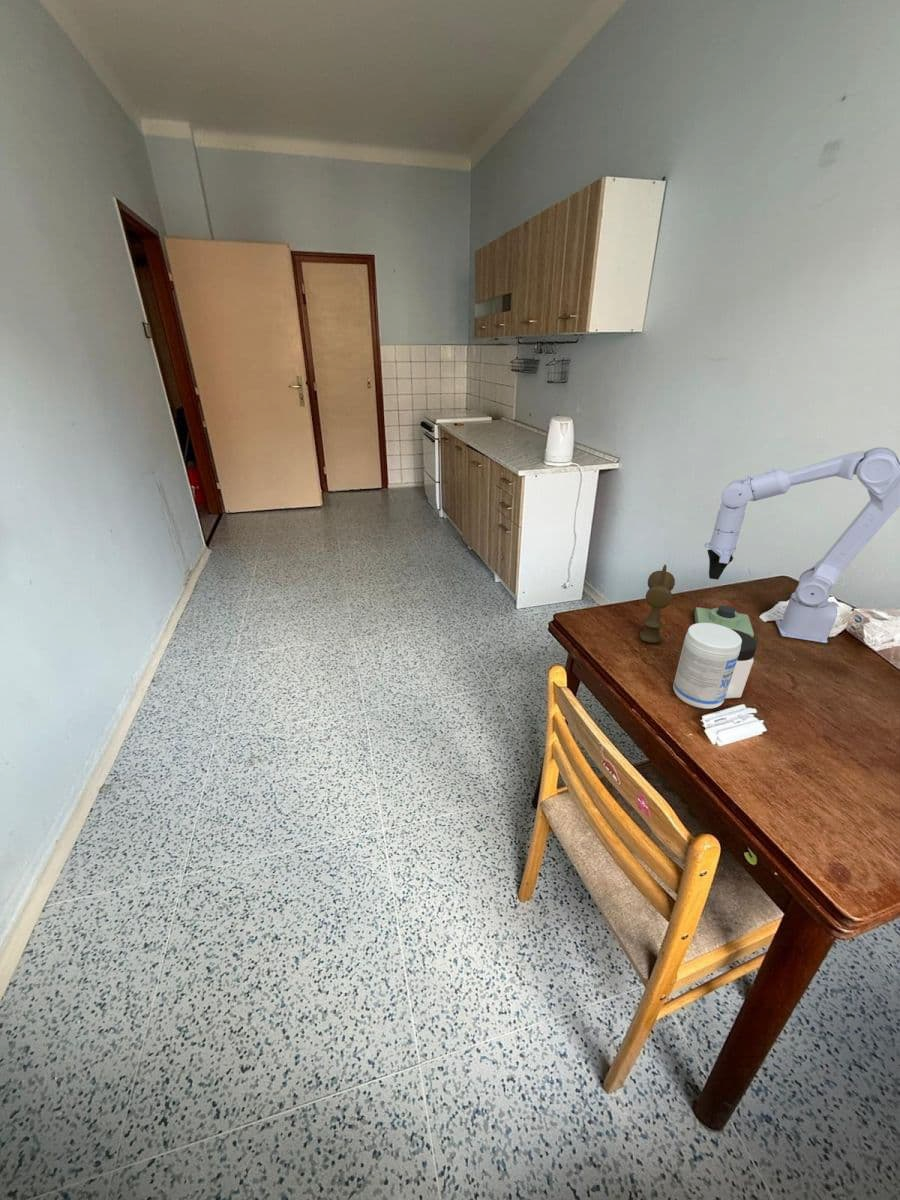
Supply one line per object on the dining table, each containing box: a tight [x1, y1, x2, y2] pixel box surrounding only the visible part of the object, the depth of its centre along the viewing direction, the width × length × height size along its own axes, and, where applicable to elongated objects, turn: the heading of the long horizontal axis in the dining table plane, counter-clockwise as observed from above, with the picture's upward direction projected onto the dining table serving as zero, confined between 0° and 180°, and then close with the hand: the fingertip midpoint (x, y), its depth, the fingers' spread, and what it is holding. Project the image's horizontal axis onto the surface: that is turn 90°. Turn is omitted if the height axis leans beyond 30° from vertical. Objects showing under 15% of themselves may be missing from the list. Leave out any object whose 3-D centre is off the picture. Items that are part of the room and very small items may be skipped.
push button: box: [717, 605, 736, 618], centre depth 117 cm, size 4×4×2 cm
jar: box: [724, 629, 758, 700], centre depth 96 cm, size 9×8×12 cm
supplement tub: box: [672, 623, 742, 710], centre depth 93 cm, size 10×10×15 cm
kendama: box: [638, 564, 676, 644], centre depth 111 cm, size 6×10×20 cm, turn 155°
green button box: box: [694, 606, 755, 638], centre depth 119 cm, size 12×10×4 cm
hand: (713, 578), depth 124 cm, fingers closed
